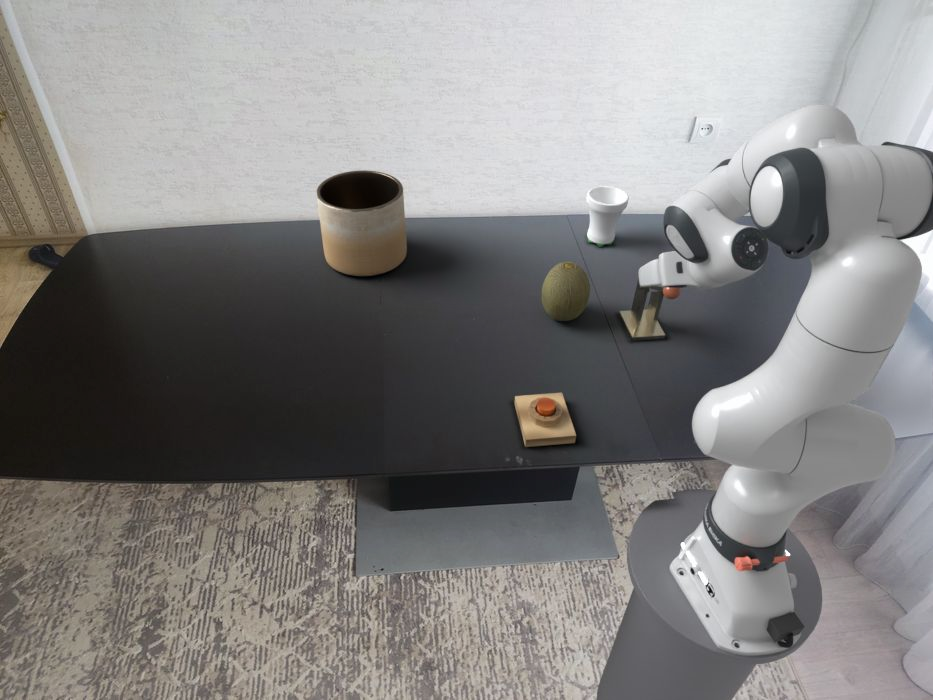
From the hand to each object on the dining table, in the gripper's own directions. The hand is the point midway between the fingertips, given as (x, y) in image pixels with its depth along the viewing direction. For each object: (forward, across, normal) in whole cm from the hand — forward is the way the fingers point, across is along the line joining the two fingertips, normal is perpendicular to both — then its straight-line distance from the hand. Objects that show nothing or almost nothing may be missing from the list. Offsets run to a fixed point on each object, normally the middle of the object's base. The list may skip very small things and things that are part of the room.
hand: (675, 279), depth 137 cm
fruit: (+26, +18, +4) cm, 32 cm away
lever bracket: (+22, 0, +8) cm, 23 cm away
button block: (+2, +30, +27) cm, 41 cm away
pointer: (+8, 0, +2) cm, 9 cm away
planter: (+48, +65, -19) cm, 83 cm away
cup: (+50, -1, -20) cm, 53 cm away
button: (-1, +30, +25) cm, 39 cm away
